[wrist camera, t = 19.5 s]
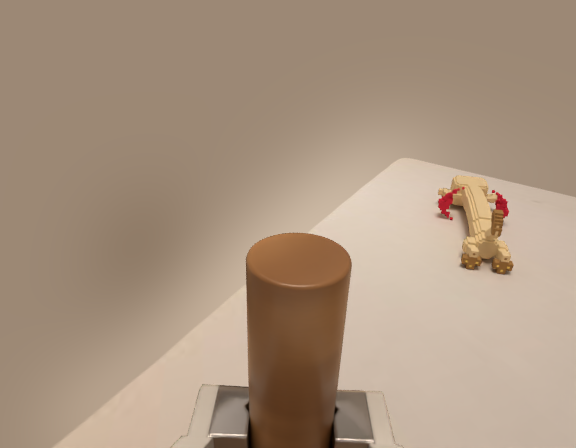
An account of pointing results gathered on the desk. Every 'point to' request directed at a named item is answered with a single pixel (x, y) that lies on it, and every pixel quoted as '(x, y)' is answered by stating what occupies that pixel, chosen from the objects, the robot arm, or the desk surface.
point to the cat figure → (479, 221)
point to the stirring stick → (295, 338)
